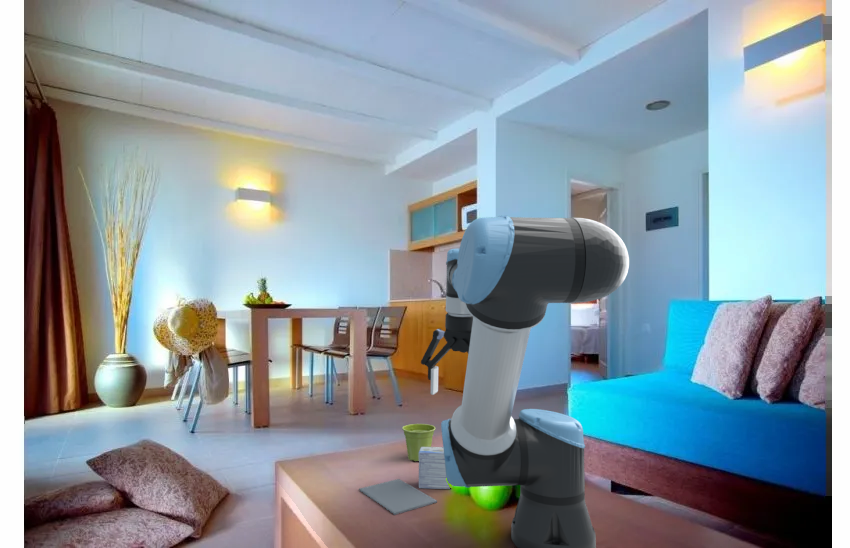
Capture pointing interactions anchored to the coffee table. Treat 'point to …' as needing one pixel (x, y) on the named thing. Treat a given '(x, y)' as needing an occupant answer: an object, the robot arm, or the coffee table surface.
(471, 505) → the coffee table surface
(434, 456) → the medicine box
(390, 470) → the coffee table surface
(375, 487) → the mat
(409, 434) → the plant pot
